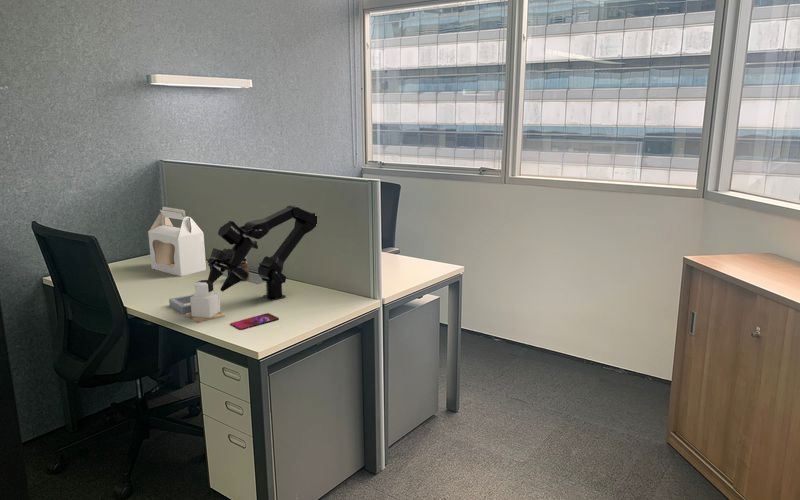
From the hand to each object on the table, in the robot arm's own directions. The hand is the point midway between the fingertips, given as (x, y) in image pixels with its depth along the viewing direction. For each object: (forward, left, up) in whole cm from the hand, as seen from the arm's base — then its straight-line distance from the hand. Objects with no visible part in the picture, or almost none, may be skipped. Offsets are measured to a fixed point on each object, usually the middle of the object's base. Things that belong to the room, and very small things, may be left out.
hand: (214, 288), depth 209 cm
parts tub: (+13, +3, -9) cm, 16 cm away
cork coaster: (0, +4, -9) cm, 10 cm away
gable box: (+67, -13, -9) cm, 69 cm away
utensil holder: (+34, -27, -9) cm, 44 cm away
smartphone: (-17, -6, -10) cm, 21 cm away
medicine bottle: (0, +4, -9) cm, 10 cm away
